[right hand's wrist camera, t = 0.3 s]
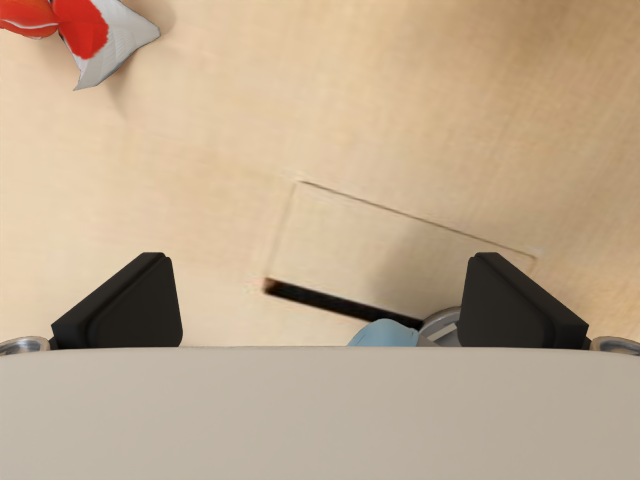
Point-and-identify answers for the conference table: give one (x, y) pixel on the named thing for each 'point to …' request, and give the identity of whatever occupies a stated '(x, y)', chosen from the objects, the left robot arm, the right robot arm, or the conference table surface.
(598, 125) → the conference table surface
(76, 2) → the fish
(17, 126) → the conference table surface
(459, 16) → the conference table surface
